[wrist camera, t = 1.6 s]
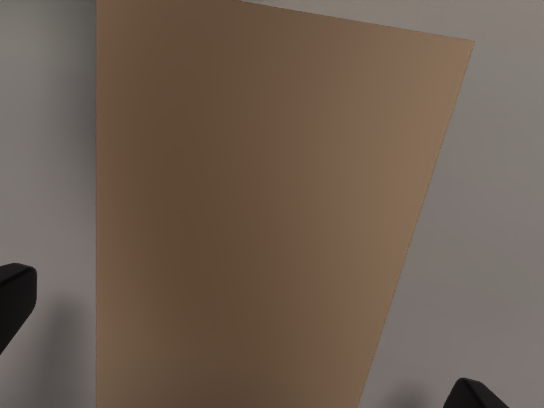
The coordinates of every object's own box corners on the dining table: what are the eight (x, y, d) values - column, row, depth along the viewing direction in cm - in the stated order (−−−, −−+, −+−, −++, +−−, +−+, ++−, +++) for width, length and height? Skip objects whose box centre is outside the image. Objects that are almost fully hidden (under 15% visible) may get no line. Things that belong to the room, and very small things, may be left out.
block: (396, 48, 8) (474, 41, 4) (289, 465, 12) (280, 648, 8) (197, 13, 8) (96, -24, 4) (161, 439, 12) (95, 608, 8)
